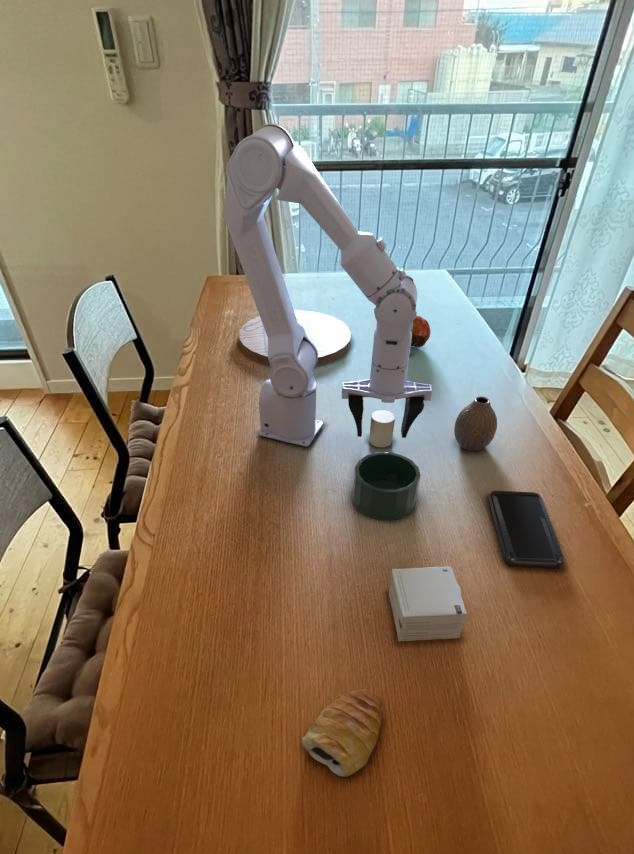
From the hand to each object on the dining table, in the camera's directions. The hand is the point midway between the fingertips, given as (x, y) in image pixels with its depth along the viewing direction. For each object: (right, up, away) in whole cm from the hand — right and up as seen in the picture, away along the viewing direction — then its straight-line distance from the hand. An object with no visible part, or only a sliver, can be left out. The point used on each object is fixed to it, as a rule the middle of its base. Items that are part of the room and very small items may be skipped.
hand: (381, 434), depth 97 cm
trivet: (-16, +26, +28) cm, 42 cm away
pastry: (-9, -40, -38) cm, 55 cm away
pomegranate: (+10, +24, +27) cm, 37 cm away
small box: (+2, -28, -26) cm, 39 cm away
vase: (+16, -2, +1) cm, 16 cm away
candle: (0, -1, +1) cm, 1 cm away
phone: (+19, -17, -15) cm, 30 cm away
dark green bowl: (-1, -12, -10) cm, 16 cm away
